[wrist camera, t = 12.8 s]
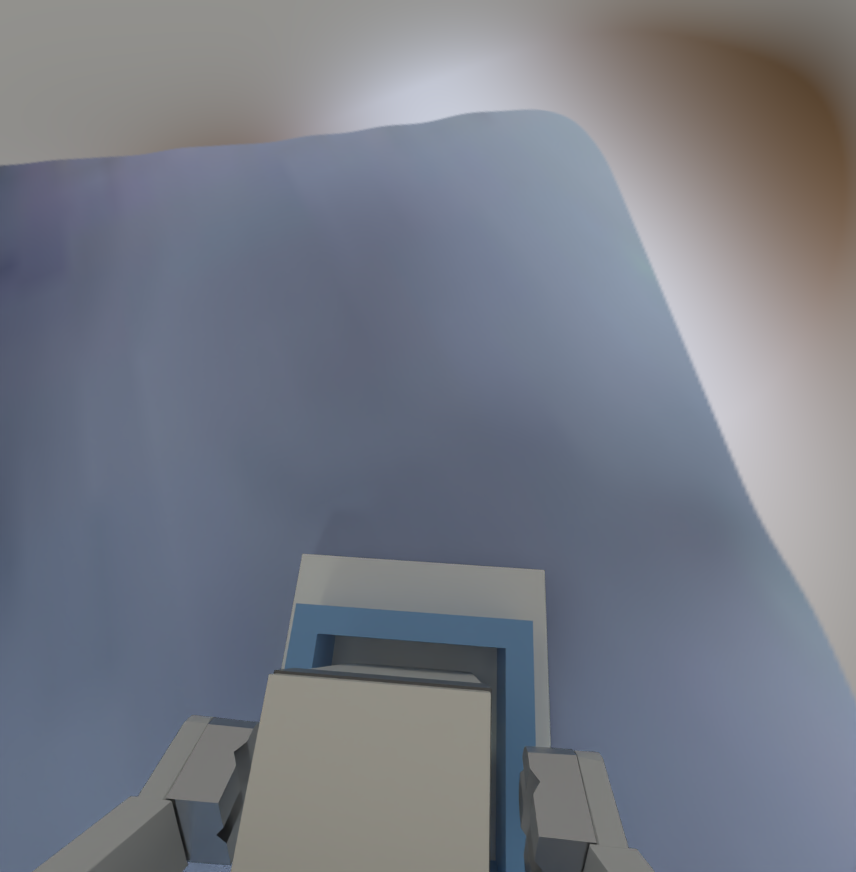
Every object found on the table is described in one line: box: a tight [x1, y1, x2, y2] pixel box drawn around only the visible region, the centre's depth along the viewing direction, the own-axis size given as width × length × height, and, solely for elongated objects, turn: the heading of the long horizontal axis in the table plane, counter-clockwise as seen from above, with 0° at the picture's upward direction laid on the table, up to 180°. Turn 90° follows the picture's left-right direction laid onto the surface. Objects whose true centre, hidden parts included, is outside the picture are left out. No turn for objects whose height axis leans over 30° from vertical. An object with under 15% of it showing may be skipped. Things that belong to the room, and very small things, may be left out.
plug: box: [231, 662, 492, 872], centre depth 11 cm, size 4×4×8 cm
